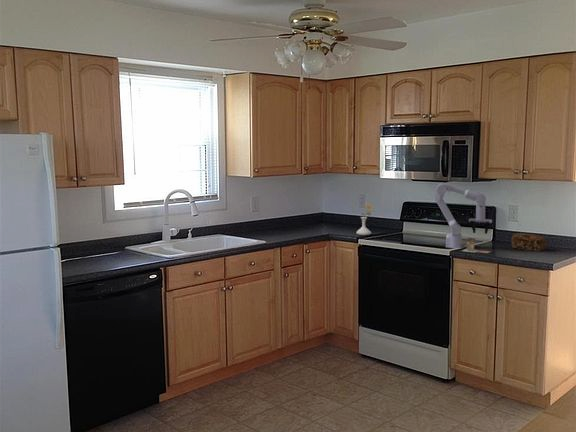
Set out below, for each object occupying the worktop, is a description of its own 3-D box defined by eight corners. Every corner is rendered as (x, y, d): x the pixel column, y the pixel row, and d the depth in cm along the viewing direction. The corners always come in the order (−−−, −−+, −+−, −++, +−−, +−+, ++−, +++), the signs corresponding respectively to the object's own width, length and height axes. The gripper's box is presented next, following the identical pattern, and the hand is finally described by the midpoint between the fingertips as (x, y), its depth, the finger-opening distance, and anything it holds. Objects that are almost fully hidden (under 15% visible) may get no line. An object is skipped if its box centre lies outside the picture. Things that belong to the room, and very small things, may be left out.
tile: (481, 252, 355) (477, 253, 350) (481, 250, 355) (477, 251, 350) (490, 253, 351) (486, 254, 346) (490, 251, 351) (486, 253, 346)
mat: (461, 251, 354) (461, 250, 354) (466, 249, 361) (466, 248, 361) (475, 253, 348) (475, 252, 348) (480, 251, 355) (480, 250, 355)
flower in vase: (359, 236, 422) (359, 203, 419) (354, 234, 433) (354, 202, 430) (375, 235, 425) (375, 203, 422) (369, 233, 436) (370, 201, 433)
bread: (510, 248, 366) (511, 233, 365) (517, 246, 374) (518, 231, 372) (539, 251, 353) (540, 236, 352) (546, 249, 360) (547, 234, 359)
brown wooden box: (466, 250, 355) (466, 238, 354) (467, 250, 357) (468, 237, 356) (472, 251, 352) (473, 238, 351) (474, 250, 354) (474, 238, 353)
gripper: (467, 212, 363) (466, 233, 364) (489, 213, 354) (489, 234, 355) (471, 211, 368) (470, 231, 370) (493, 212, 359) (492, 233, 361)
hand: (480, 233), depth 363 cm, fingers open, 7 cm apart
